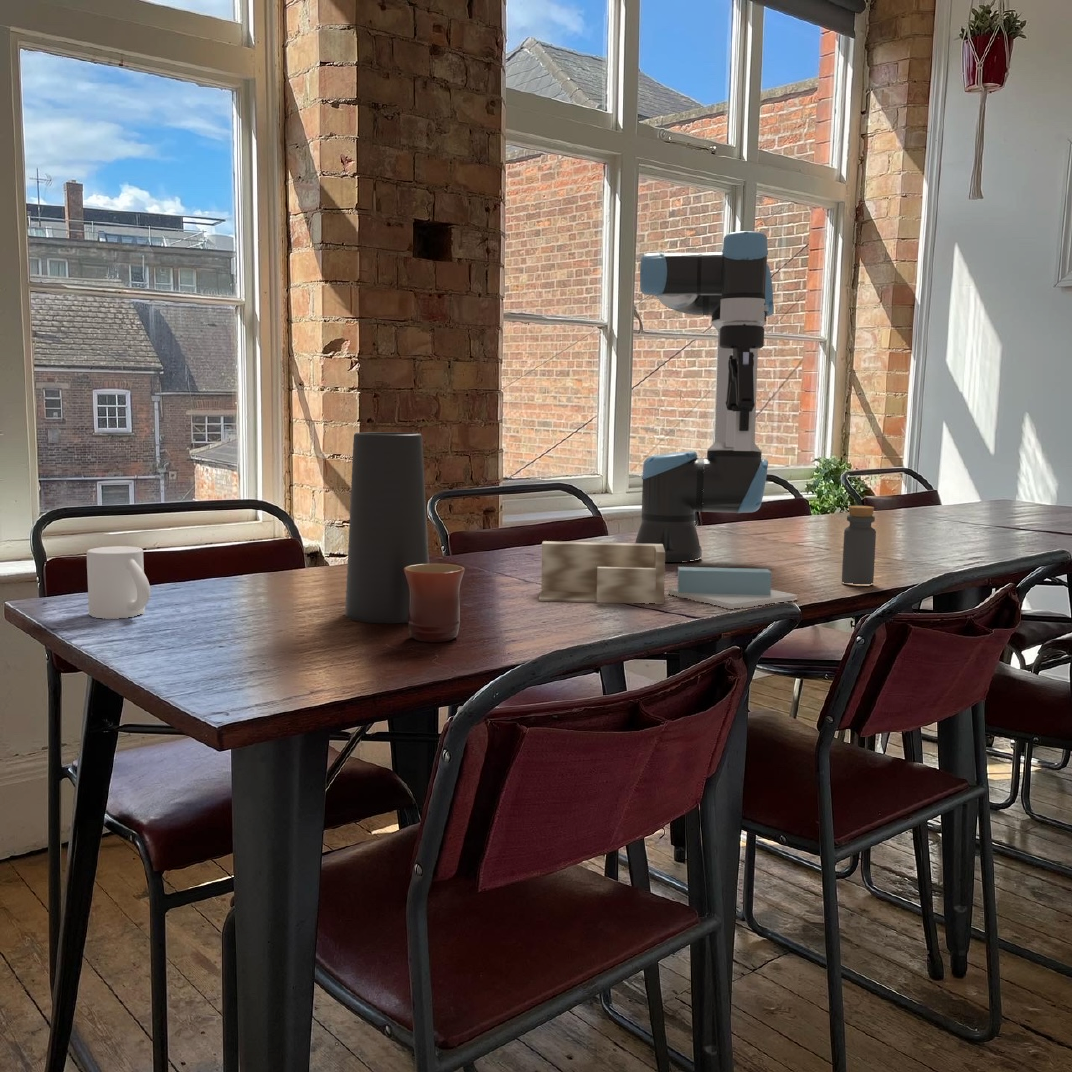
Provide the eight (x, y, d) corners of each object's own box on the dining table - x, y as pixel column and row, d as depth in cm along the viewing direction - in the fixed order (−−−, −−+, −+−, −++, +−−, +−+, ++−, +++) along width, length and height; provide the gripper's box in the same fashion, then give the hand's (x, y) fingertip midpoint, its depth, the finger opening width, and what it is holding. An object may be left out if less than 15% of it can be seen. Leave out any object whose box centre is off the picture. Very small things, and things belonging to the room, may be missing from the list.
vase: (446, 611, 176) (447, 433, 173) (402, 626, 164) (402, 435, 160) (376, 603, 182) (375, 431, 178) (328, 618, 170) (326, 433, 166)
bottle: (873, 583, 209) (877, 506, 207) (872, 588, 204) (876, 508, 202) (842, 581, 211) (846, 504, 209) (840, 585, 205) (844, 507, 204)
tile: (668, 594, 194) (668, 589, 194) (733, 586, 203) (733, 581, 203) (731, 609, 181) (731, 603, 181) (797, 600, 190) (797, 595, 189)
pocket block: (538, 601, 186) (539, 549, 185) (542, 590, 197) (543, 541, 195) (663, 604, 185) (665, 552, 184) (661, 593, 195) (662, 543, 194)
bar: (678, 592, 190) (679, 570, 190) (677, 588, 194) (678, 566, 194) (770, 595, 189) (771, 572, 189) (767, 591, 193) (768, 568, 193)
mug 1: (123, 544, 175) (168, 551, 168) (125, 607, 176) (170, 616, 169) (75, 549, 168) (120, 557, 161) (78, 615, 170) (122, 625, 163)
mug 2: (464, 644, 153) (465, 573, 152) (402, 645, 152) (402, 573, 151) (463, 626, 165) (463, 560, 163) (405, 627, 164) (405, 560, 163)
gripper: (775, 320, 173) (769, 453, 176) (754, 329, 198) (750, 445, 201) (727, 320, 174) (723, 452, 176) (713, 329, 198) (709, 445, 201)
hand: (737, 449), depth 188 cm, fingers open, 13 cm apart
